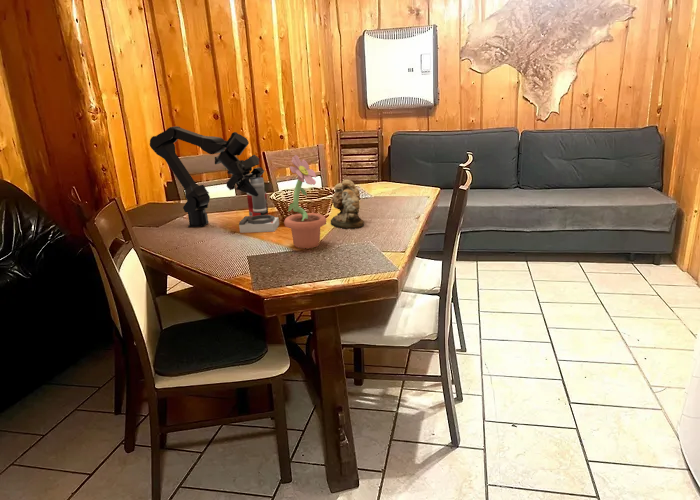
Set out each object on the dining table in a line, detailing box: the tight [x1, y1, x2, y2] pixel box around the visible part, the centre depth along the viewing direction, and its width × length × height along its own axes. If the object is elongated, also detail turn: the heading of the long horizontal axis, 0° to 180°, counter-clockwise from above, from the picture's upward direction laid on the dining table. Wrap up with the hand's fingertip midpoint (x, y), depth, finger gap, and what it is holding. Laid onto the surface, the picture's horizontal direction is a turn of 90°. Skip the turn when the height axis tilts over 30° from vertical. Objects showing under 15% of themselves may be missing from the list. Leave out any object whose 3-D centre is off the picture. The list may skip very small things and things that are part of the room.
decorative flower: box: [283, 154, 327, 250], centre depth 162 cm, size 15×14×30 cm
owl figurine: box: [330, 179, 365, 230], centre depth 190 cm, size 18×12×17 cm, turn 26°
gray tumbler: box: [250, 176, 267, 213], centre depth 187 cm, size 5×5×13 cm
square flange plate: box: [238, 214, 280, 234], centre depth 190 cm, size 13×10×4 cm
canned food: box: [246, 191, 269, 217], centre depth 206 cm, size 8×8×11 cm
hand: (261, 194), depth 186 cm, fingers closed on gray tumbler, 5 cm apart
